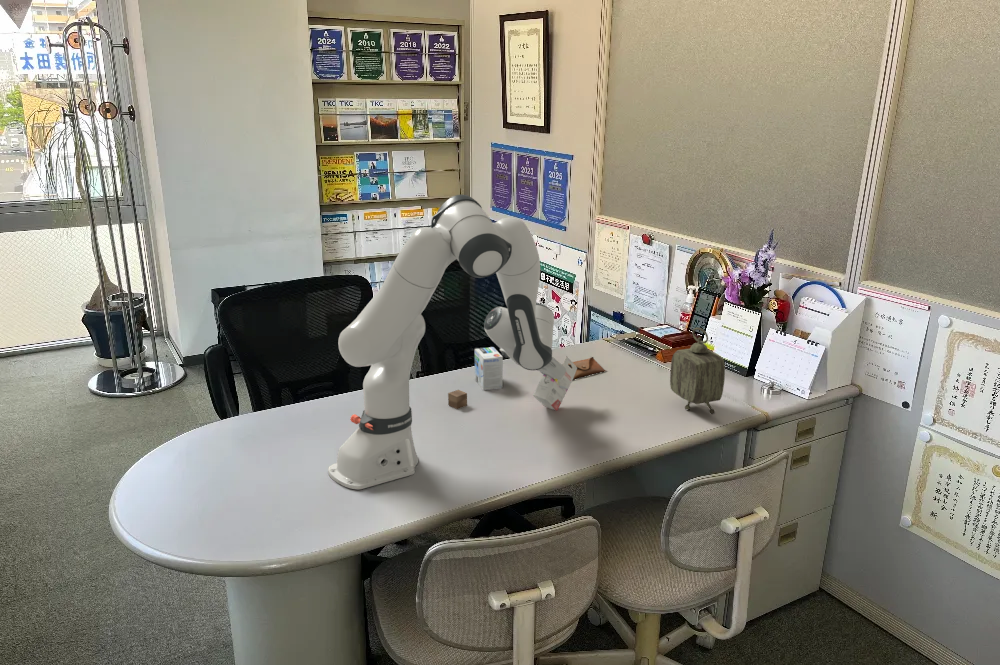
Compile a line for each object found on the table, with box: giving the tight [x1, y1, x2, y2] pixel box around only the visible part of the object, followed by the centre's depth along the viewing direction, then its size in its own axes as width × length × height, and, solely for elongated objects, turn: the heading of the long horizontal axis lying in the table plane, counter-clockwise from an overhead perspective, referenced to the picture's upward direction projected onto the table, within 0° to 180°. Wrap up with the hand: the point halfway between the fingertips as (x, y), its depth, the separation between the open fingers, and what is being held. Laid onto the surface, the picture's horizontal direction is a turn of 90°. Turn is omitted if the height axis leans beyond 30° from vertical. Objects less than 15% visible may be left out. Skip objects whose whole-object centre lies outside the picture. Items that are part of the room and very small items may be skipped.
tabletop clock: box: [669, 327, 726, 415], centre depth 211 cm, size 14×9×25 cm, turn 22°
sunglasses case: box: [561, 356, 607, 382], centre depth 244 cm, size 18×7×7 cm
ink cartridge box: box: [532, 355, 577, 412], centre depth 213 cm, size 9×5×15 cm
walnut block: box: [447, 389, 468, 410], centre depth 216 cm, size 4×4×4 cm
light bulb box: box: [474, 346, 504, 391], centre depth 233 cm, size 11×7×11 cm, turn 17°
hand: (549, 374), depth 210 cm, fingers closed
